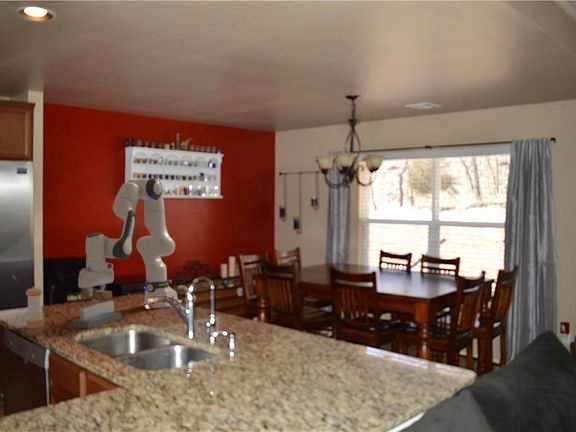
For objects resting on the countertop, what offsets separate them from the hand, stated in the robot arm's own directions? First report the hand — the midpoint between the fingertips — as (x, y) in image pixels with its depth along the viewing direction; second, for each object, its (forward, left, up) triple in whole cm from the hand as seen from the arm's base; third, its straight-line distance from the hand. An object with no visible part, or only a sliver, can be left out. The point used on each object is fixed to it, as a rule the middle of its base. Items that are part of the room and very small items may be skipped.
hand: (96, 294), depth 269 cm
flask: (-13, -14, -14) cm, 24 cm away
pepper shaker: (+17, -23, -14) cm, 32 cm away
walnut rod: (0, 0, -2) cm, 2 cm away
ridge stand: (0, 0, -14) cm, 14 cm away
